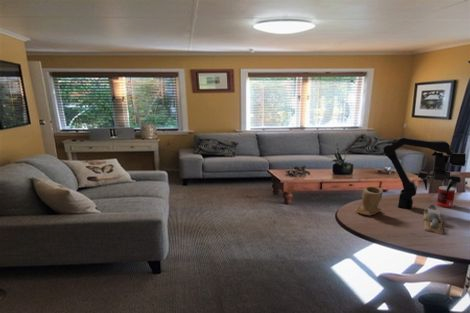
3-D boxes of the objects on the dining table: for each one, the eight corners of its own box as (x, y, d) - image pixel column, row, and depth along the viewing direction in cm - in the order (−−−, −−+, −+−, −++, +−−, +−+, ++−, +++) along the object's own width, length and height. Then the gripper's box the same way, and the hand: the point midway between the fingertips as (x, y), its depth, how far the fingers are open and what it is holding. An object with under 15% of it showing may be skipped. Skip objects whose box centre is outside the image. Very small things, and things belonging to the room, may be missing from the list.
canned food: (451, 204, 169) (454, 187, 167) (453, 209, 162) (456, 190, 160) (436, 202, 173) (438, 185, 171) (436, 206, 166) (439, 188, 164)
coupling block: (426, 217, 149) (427, 208, 148) (438, 219, 146) (439, 210, 145) (426, 221, 144) (428, 211, 143) (438, 223, 141) (440, 214, 140)
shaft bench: (424, 230, 136) (425, 220, 135) (423, 211, 158) (424, 202, 157) (443, 234, 132) (445, 223, 131) (439, 214, 154) (441, 205, 153)
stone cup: (372, 219, 149) (375, 192, 146) (352, 212, 158) (354, 186, 155) (387, 213, 157) (390, 187, 154) (367, 206, 167) (369, 182, 164)
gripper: (419, 165, 151) (416, 192, 154) (464, 169, 141) (459, 198, 144) (419, 161, 160) (416, 187, 163) (461, 165, 150) (456, 192, 153)
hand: (436, 191), depth 156 cm, fingers open, 9 cm apart
